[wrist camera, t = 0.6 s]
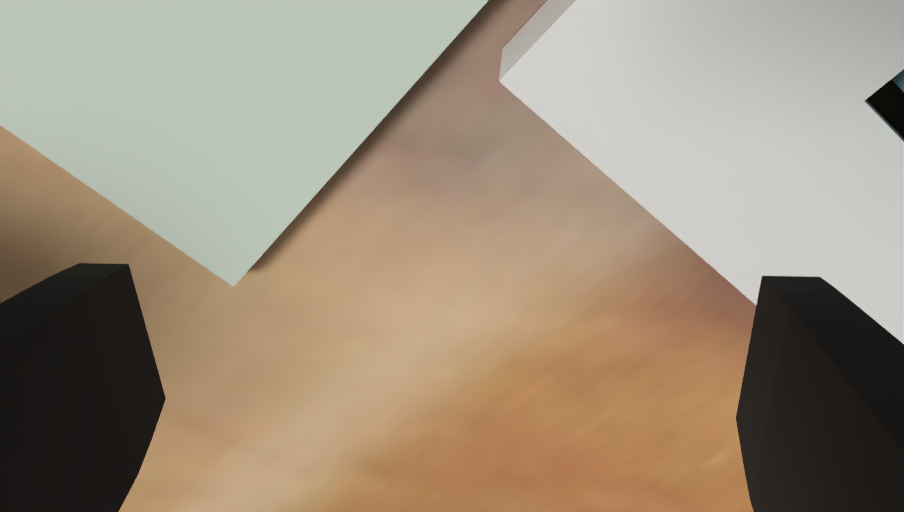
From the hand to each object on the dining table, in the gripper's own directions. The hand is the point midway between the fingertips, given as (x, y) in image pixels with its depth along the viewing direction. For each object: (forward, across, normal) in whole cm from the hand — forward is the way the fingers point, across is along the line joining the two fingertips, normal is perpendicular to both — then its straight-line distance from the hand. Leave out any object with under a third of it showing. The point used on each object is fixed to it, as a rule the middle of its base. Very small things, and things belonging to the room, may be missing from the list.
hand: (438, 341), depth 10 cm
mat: (+10, +7, -1) cm, 12 cm away
